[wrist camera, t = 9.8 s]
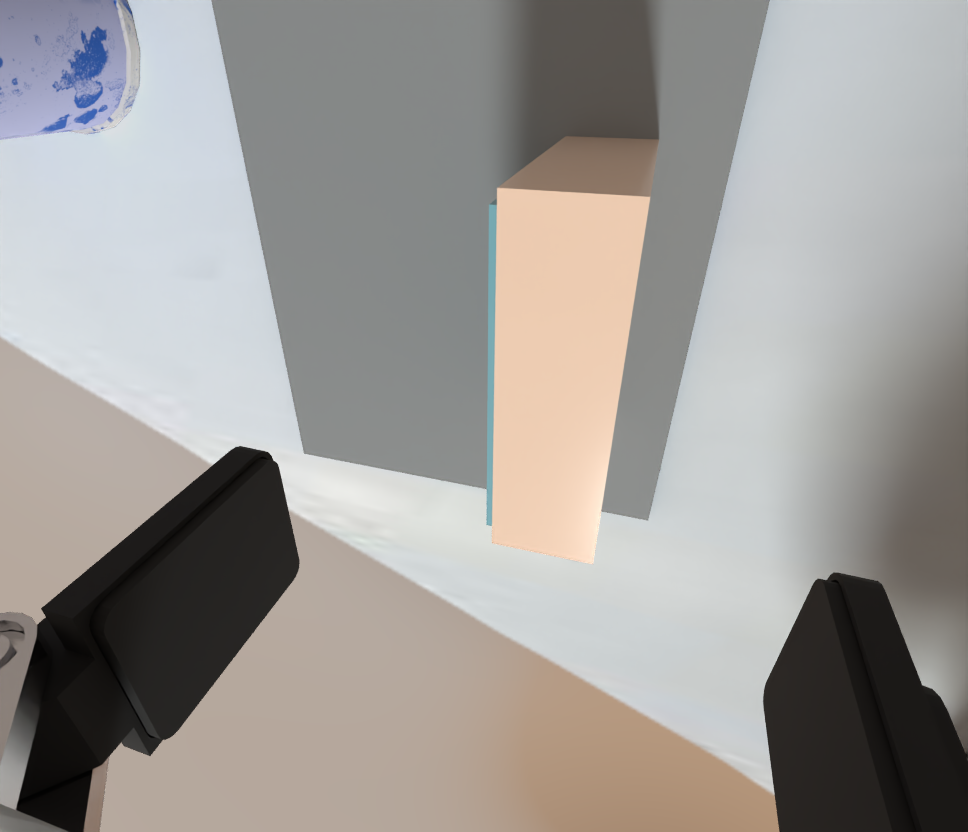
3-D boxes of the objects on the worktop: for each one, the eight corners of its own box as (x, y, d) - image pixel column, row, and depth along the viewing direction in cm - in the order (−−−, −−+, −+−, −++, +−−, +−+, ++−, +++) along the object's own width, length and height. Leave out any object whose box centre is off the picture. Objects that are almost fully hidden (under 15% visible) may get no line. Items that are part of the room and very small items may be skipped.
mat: (648, 511, 26) (647, 520, 26) (309, 447, 30) (304, 453, 30) (794, -119, 14) (799, -125, 14) (205, -89, 18) (192, -93, 18)
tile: (617, 405, 23) (592, 563, 16) (540, 394, 24) (483, 541, 17) (659, 139, 18) (650, 196, 11) (558, 135, 19) (485, 187, 11)
